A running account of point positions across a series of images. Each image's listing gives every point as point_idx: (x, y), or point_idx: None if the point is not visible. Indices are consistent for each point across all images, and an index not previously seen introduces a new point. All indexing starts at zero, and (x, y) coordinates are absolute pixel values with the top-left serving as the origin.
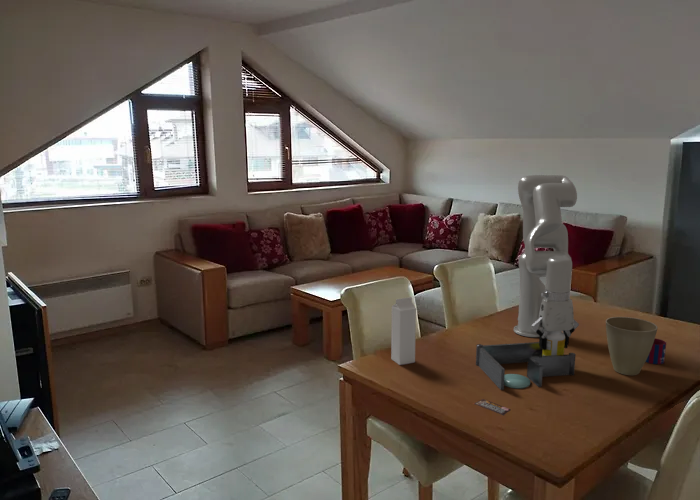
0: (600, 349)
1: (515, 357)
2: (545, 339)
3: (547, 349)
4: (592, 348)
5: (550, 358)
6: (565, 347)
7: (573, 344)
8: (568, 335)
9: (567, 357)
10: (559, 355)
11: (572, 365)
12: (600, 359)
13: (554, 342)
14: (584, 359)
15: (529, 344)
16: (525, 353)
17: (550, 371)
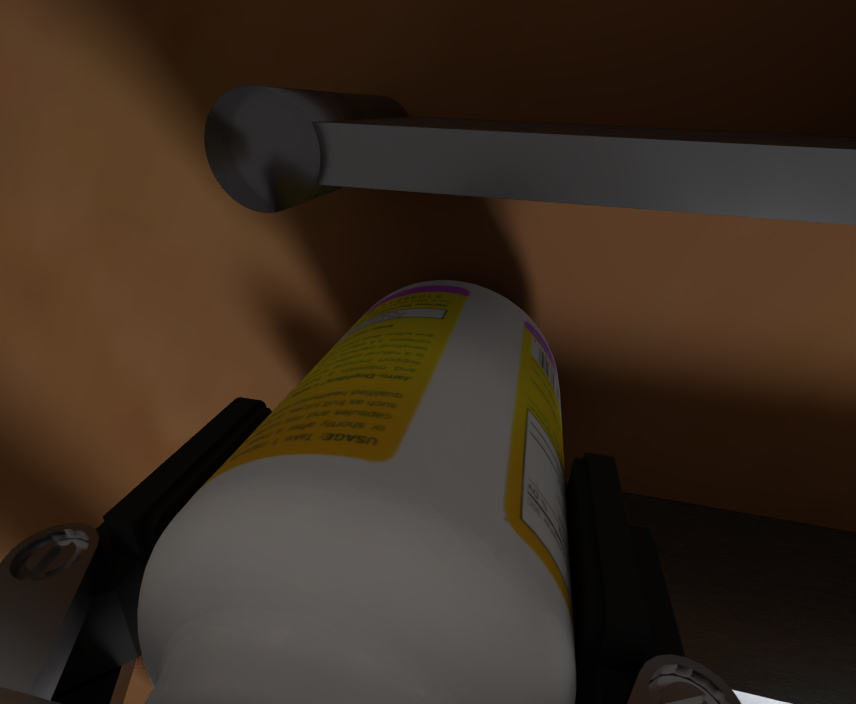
0: (4, 486)
1: (776, 560)
2: (633, 612)
3: (556, 445)
4: (47, 513)
5: (728, 142)
6: (261, 408)
7: None
8: (73, 549)
9: (374, 124)
10: (507, 172)
11: (341, 95)
12: (32, 358)
13: (464, 467)
14: (141, 393)
15: None
16: (668, 568)
17: (655, 130)
